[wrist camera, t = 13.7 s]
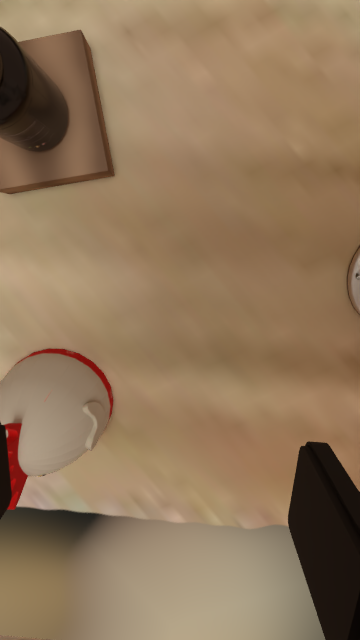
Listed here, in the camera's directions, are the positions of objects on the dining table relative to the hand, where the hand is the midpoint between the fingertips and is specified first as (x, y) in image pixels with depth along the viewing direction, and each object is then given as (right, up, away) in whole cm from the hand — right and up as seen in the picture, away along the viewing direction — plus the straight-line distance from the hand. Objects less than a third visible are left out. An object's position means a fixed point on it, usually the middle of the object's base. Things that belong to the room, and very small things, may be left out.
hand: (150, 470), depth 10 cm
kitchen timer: (-15, -6, +32) cm, 36 cm away
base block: (-13, +25, +24) cm, 37 cm away
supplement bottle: (-13, +25, +21) cm, 35 cm away
